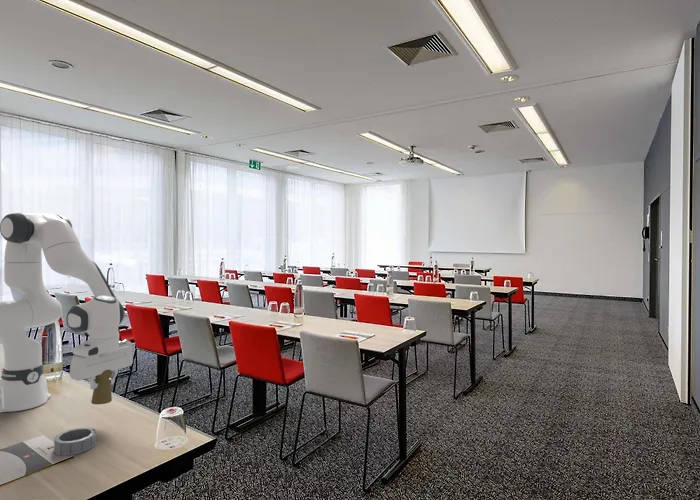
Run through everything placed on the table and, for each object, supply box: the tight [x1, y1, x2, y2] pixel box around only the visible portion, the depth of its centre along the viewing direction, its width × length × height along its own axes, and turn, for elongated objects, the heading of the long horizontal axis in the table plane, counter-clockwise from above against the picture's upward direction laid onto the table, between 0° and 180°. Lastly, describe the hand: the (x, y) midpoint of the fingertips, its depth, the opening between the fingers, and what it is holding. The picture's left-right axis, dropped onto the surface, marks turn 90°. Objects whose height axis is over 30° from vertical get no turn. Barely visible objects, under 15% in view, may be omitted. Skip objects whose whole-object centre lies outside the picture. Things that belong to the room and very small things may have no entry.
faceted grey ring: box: [53, 426, 97, 457], centre depth 128 cm, size 10×10×4 cm
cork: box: [90, 370, 113, 405], centre depth 144 cm, size 6×6×11 cm
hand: (102, 385), depth 144 cm, fingers closed on cork, 4 cm apart
